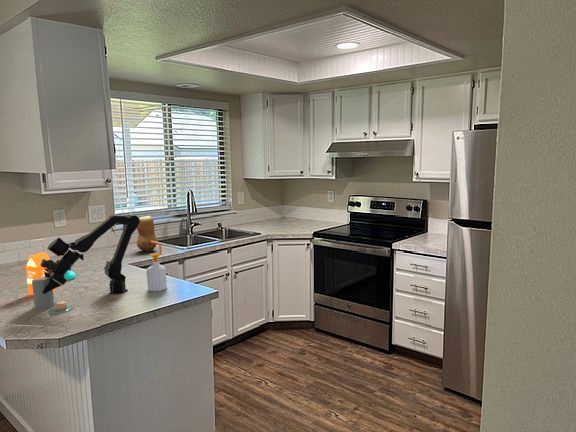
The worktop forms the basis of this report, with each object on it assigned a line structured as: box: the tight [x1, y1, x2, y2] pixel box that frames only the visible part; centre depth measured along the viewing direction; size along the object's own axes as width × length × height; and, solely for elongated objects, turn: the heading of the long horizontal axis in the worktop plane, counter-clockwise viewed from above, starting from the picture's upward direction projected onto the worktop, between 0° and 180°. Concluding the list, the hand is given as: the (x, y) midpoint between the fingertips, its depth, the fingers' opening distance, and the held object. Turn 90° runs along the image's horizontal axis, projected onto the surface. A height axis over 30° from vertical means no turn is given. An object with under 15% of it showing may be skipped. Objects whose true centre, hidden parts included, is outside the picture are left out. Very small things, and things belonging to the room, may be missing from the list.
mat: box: [31, 306, 55, 312], centre depth 192 cm, size 10×10×1 cm
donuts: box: [64, 270, 76, 281], centre depth 238 cm, size 10×10×10 cm
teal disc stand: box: [47, 300, 75, 315], centre depth 187 cm, size 10×10×4 cm
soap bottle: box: [146, 240, 168, 293], centre depth 214 cm, size 9×9×25 cm
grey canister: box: [32, 277, 56, 311], centre depth 191 cm, size 8×8×12 cm
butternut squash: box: [136, 215, 158, 252], centre depth 303 cm, size 14×13×25 cm
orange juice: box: [25, 251, 56, 296], centre depth 212 cm, size 8×9×20 cm
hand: (41, 290), depth 191 cm, fingers open, 9 cm apart
